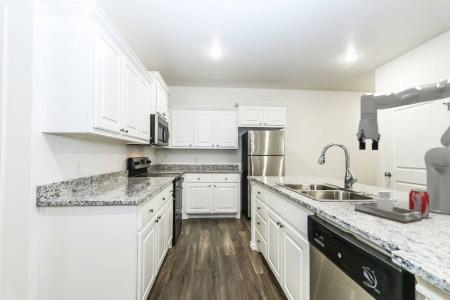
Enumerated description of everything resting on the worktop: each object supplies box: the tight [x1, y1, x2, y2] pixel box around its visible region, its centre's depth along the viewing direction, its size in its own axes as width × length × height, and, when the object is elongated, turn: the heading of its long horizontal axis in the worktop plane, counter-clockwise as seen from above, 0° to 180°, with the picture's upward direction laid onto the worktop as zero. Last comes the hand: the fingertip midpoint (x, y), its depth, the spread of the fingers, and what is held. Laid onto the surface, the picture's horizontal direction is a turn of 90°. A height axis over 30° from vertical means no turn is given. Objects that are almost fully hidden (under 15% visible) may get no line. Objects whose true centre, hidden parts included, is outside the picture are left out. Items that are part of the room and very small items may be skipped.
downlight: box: [376, 190, 395, 212], centre depth 106 cm, size 8×7×10 cm
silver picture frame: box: [354, 201, 423, 224], centre depth 105 cm, size 12×22×4 cm, turn 23°
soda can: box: [408, 188, 430, 219], centre depth 104 cm, size 7×7×12 cm
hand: (368, 149), depth 121 cm, fingers open, 9 cm apart
